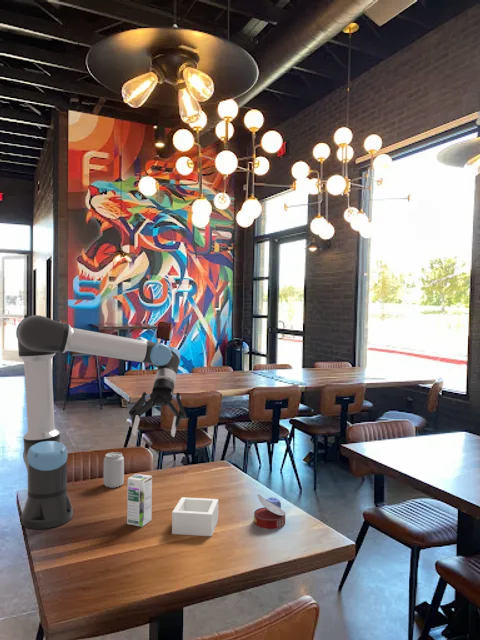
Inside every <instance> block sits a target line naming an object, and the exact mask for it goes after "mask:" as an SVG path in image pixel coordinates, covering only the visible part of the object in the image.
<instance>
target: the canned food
mask: <svg viewBox="0 0 480 640" xmlns="http://www.w3.org/2000/svg"><path fill="white" fill-rule="evenodd" d="M257 498H258V500H259V502H260V503H261V505H262V506H263V507H261V508H257V509H255V511H254V513H253V514H254V515H253V516H254V517H253V518H254V519H253V521H254V525H256V526H257V527H258V528H261V529H265V530H277V529H280V528H283V527H284V526H285V525H286V512H285V511H284V510H283V509H282V508H281V509H280V508H279V507H277V506H276V505H274V504H272V503H271V502H269V501H267V498H266V499H265V498H264V497H263V496H262V495H261V494H259V493H258V494H257Z"/></svg>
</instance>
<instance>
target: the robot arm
mask: <svg viewBox="0 0 480 640" xmlns="http://www.w3.org/2000/svg"><path fill="white" fill-rule="evenodd" d="M15 332H16V333H15V335H16V338H17V348H18V349H17V350H18V358H20V359H21V360H22V361H23V367H24V368H23V369H24V383H25V400H26V401H25V403H26V419H27V420H26V421H27V431H26V433H25V434H24V435H23V436H22V437H23V439H22V440H23V452H22V457H23V462H24V464H25V467H26V472H27V498H26V502H25V505H24V508H23V511H22V513H21V525H22V526H23V527H25V528H28V529H33V530H34V529H35V530H44V529H51V528H55V527H59V526H62V525H64V524H66V523H68V522H69V521H71V520H72V518H73V511H74V509H73V505H72V504H71V501H70V498H69V497H70V496H69V495H68V449H67V446H66V445H65V444H64V443H62V442H61V431H59V430H58V429H57V428H56V425H55V404H54V389H53V388H54V387H53V369H52V367H53V366H52V365H53V364H52V359H53V358H54V356H56V353H60V354H64V353H66V352H74V353H80V354H88V355H92V356H93V355H94V356H100V357H106V358H113V359H119V360H125V361H132V362H139V363H144V364H148V365H151V366H153V367H155V368H156V370H157V371H156V375H155V378H154V382H153V386H152V390H151V393H147V392H146V391H143V392H142V395H141V397H140V398H139V399H138V400H137V402H136V403H134V405H133V406H132V407H131V408H130V410H129V411H128V414H129V416H130V418H132V420H131V426H132V429H131V433H132V435H133V436H134V437H136V436H137V432H138V428H139V425H140V421H141V419H140V417H141V416H143V415H144V414H145V413H146V412H148V411H149V410H150V409H152V408H154V407H165V406H167V408H168V409H169V410H170V411H171V413H173V415H174V416H173V419H172V425H171V430H170V435H171V438H174V437H175V435H176V431H177V428H180V423H181V420H182V419H186V418H187V414H186V410H185V409H184V406H183V403H182V401H181V400H182V397H181V394H180V392H177V393H176V394H174V391H175V390H174V389H175V385H176V381H177V375H178V370H179V365H180V363H181V351H180V350H179V349H178V348H176V347H174V346H173V347H172V346H168V345H166V344H164V343H161V342H160V343H158V342H153V341H150V340H148V339H147V338H145V337H142V336H139V337H136V338H131V337H127V336H119V335H115V334H108V333H103V332H99V331H98V332H97V331H93V330H92V331H91V330H86V329H81V328H76V327H72V326H71V325H70V324H69V323H66V322H60V321H58V320H54V319H52V318H49V317H46V316H44V315H38V314H37V315H36V314H34V315H28V316H26V317H25V318H23V319H22V320H21V321H20V322H19V324H18V325H17V327H16V330H15ZM173 400H174V401H175V402H177V405H178V408H179V410H180V411H178V409H177V408H176V407H175V405H174V404H173V403H172V401H173ZM146 401H147V402H146Z"/></svg>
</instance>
